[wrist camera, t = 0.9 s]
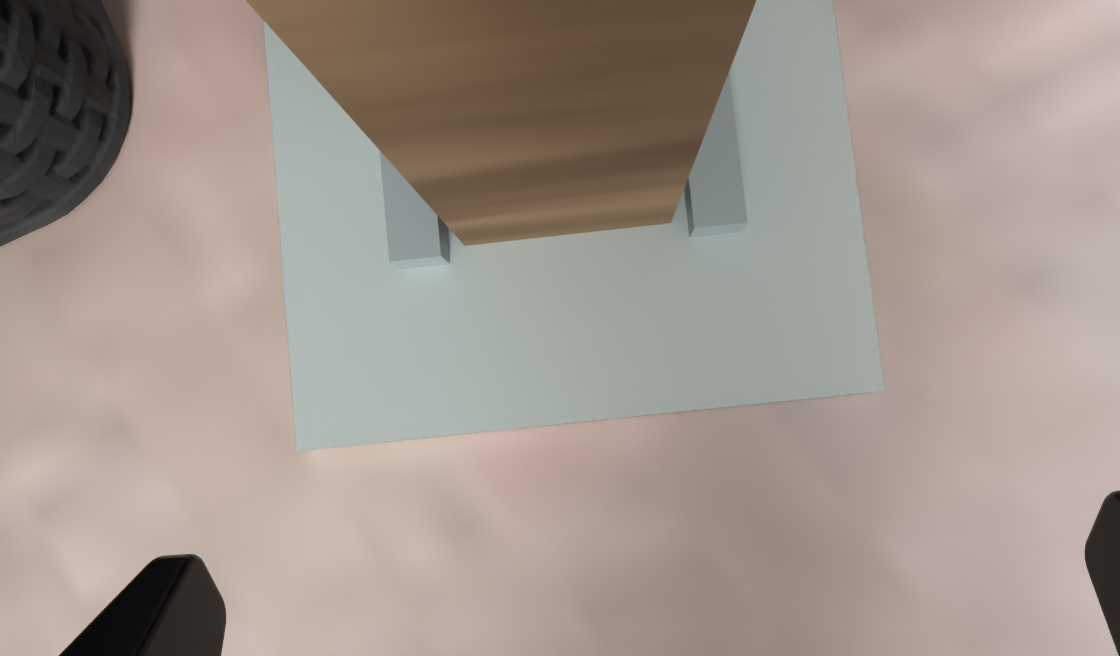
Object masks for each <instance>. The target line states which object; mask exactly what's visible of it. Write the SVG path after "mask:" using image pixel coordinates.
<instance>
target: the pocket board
mask: <svg viewBox="0 0 1120 656" xmlns="http://www.w3.org/2000/svg"><path fill="white" fill-rule="evenodd" d="M263 22H264V35H265V48H266V61H267V74H268V87H269V100H270V113H271V126H272V139H273V152H274V165H275V178H276V191H277V204H278V217H279V230H280V243H281V256H282V269H283V282H284V295H285V308H286V321H287V334H288V347H289V360H290V373H291V386H292V399H293V412H294V425H295V438H296V451H301V450H311V449H321V448H330V447H340V446H350V445H360V444H370V443H379V442H389V441H399V440H409V439H418V438H428V437H438V436H448V435H458V434H467V433H477V432H487V431H497V430H506V429H516V428H526V427H536V426H546V425H555V424H565V423H575V422H585V421H594V420H604V419H614V418H624V417H634V416H643V415H653V414H663V413H673V412H682V411H692V410H702V409H712V408H722V407H731V406H741V405H751V404H761V403H770V402H780V401H790V400H800V399H810V398H819V397H829V396H839V395H849V394H858V393H868V392H878V391H885V389H884V382H883V374H882V367H881V359H880V352H879V344H878V337H877V329H876V322H875V314H874V307H873V299H872V292H871V284H870V277H869V269H868V262H867V254H866V247H865V239H864V232H863V224H862V217H861V209H860V202H859V194H858V187H857V179H856V172H855V164H854V157H853V149H852V142H851V134H850V127H849V120H848V112H847V105H846V97H845V90H844V82H843V75H842V67H841V60H840V52H839V45H838V37H837V30H836V22H835V15H834V7H833V0H756V3H755V6H754V8H753V11H752V13H751V16H750V19H749V21H748V24H747V26H746V29H745V32H744V34H743V37H742V39H741V42H740V45H739V47H738V50H737V52H736V55H735V58H734V60H733V63H732V65H731V68H730V71H729V73H728V76H727V78H726V81H725V84H724V86H723V89H722V92H721V94H720V97H719V99H718V102H717V105H716V107H715V110H714V112H713V115H712V118H711V120H710V123H709V125H708V128H707V131H706V133H705V136H704V138H703V141H702V144H701V146H700V149H699V151H698V154H697V157H696V159H695V162H694V164H693V167H692V170H691V172H690V175H689V177H688V180H687V183H686V185H685V188H684V190H683V193H682V196H681V198H680V201H679V203H678V206H677V209H676V211H675V214H674V216H673V219H672V222H671V223H668V224H659V225H650V226H641V227H632V228H623V229H614V230H605V231H596V232H587V233H578V234H568V235H559V236H550V237H541V238H532V239H523V240H514V241H505V242H496V243H487V244H478V245H469V246H464V245H463V243H462V242H461V241H460V240H459V239H458V238H457V237H456V236H455V234H454V233H453V232H452V231H451V230H450V229H449V228H448V227H447V225H446V224H445V223H444V222H443V221H442V220H441V219H440V218H439V216H438V215H437V214H436V213H435V212H434V211H433V210H432V209H431V207H430V206H429V205H428V204H427V203H426V202H425V201H424V200H423V199H422V197H421V196H420V195H419V194H418V193H417V192H416V191H415V190H414V188H413V187H412V186H411V185H410V184H409V183H408V182H407V181H406V179H405V178H404V177H403V176H402V175H401V174H400V173H399V172H398V170H397V169H396V168H395V167H394V166H393V165H392V164H391V163H390V161H389V160H388V159H387V158H386V157H385V156H384V155H383V154H382V152H381V151H380V150H379V149H378V148H377V147H376V146H375V145H374V143H373V142H372V141H371V140H370V139H369V138H368V137H367V136H366V134H365V133H364V132H363V131H362V130H361V129H360V128H359V127H358V125H357V124H356V123H355V122H354V121H353V120H352V119H351V118H350V116H349V115H348V114H347V113H346V112H345V111H344V110H343V109H342V107H341V106H340V105H339V104H338V103H337V102H336V101H335V100H334V98H333V97H332V96H331V95H330V94H329V93H328V92H327V91H326V89H325V88H324V87H323V86H322V85H321V84H320V83H319V82H318V80H317V79H316V78H315V77H314V76H313V75H312V74H311V73H310V71H309V70H308V69H307V68H306V67H305V66H304V65H303V64H302V62H301V61H300V60H299V59H298V58H297V57H296V56H295V55H294V53H293V52H292V51H291V50H290V49H289V48H288V47H287V46H286V45H285V43H284V42H283V41H282V40H281V39H280V38H279V37H278V36H277V34H276V33H275V32H274V31H273V30H272V29H271V28H270V27H269V25H268V24H267V23H266V22H265V21H264V20H263Z"/></svg>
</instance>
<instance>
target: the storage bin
mask: <svg viewBox="0 0 1120 656" xmlns="http://www.w3.org/2000/svg"><path fill="white" fill-rule="evenodd" d="M107 76H108V81H107ZM106 81H107V85H106ZM129 105H130V85H129V78H128V71H127V65H126V62H125V59H124V56H123V54H122V51H121V48H120V46H119V43H118V41H117V39H116V36H115V34H114V32H113V29H112V27H111V25H110V22H109V20H108V18H107V15H106V13H105V10H104V8H103V6H102V3H101V1H100V0H0V246H2V245H4V244H6V243H9V242H11V241H13V240H15V239H17V238H19V237H21V236H24V235H26V234H28V233H30V232H32V231H35V230H37V229H39V228H42V227H44V226H46V225H48V224H50V223H52V222H54V221H56V220H57V219H59V218H61V217H63V216H65V215H66V214H68V213H69V212H71V211H72V210H73V209H74V208H75V207H77V206H78V205H79V204H80V203H81V202H83V201H84V200H85V199H86V198H87V197H88V196H89V195H90V194H91V193H92V192H93V191H94V189H95V188H96V187H97V186H98V185H99V184H100V183H101V182H102V181H103V179H104V178H105V176H106V175H107V173H108V172H109V170H110V168H111V167H112V165H113V164H114V162H115V159H116V157H117V154H118V152H119V149H120V147H121V144H122V142H123V139H124V137H125V133H126V129H127V125H128V121H129Z"/></svg>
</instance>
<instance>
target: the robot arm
mask: <svg viewBox="0 0 1120 656" xmlns="http://www.w3.org/2000/svg"><path fill="white" fill-rule="evenodd" d="M1085 561H1086V566H1087V569H1088V572H1089V575H1090V578H1091V581H1092V583H1093V586H1094V589H1095V592H1096V594H1097V597H1098V600H1099V603H1100V606H1101V608H1102V611H1103V614H1104V617H1105V619H1106V622H1107V625H1108V628H1109V630H1110V633H1111V636H1112V639H1113V641H1114V644H1115V647H1116V650H1117V653H1118V655H1119V656H1120V491H1114V492H1112V493H1110V494H1109V495H1108V496H1107V497H1106V498H1105V500H1104V502H1103V504H1102V506H1101V509H1100V511H1099V513H1098V516H1097V518H1096V520H1095V523H1094V525H1093V527H1092V530H1091V532H1090V534H1089V537H1088V539H1087V542H1086V545H1085ZM225 627H226V608H225V604H224V601H223V598H222V596H221V594H220V592H219V591H218V589H217V587H216V585H215V583H214V581H213V579H212V577H211V575H210V573H209V571H208V570H207V568H206V566H205V564H204V562H203V561H202V559H201V558H200V557H198V556H197V555H195V554H182V555H167V556H161V557H158V558H155V559H154V560H152V561H151V562H150V563H149V564H147V565H146V566H145V567H144V568H143V569H142V571H141V572H140V573H139V574H138V575H137V576H136V577H135V578H134V579H133V580H132V581H131V582H130V583H129V584H128V585H127V586H126V587H125V588H124V589H123V590H122V591H121V592H120V593H119V594H118V595H117V596H116V597H115V598H114V599H113V600H112V601H111V602H110V603H109V604H108V606H107V607H106V608H105V609H104V610H103V611H102V612H101V613H100V614H99V615H98V616H97V617H96V618H95V619H94V620H93V621H92V622H91V623H90V624H89V625H88V626H87V627H86V628H85V629H84V630H83V631H82V632H81V633H80V634H79V635H78V636H77V637H76V638H75V639H74V640H73V642H72V643H71V644H70V645H69V646H68V647H67V648H66V649H65V650H64V651H63V652H62V653H61V654H60V655H59V656H221V653H222V646H223V640H224V633H225Z"/></svg>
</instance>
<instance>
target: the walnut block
mask: <svg viewBox="0 0 1120 656" xmlns="http://www.w3.org/2000/svg"><path fill="white" fill-rule="evenodd" d="M246 1H247V2H248V3H249V4H250V5H251V6H252V7H253V9H254V10H255V11H256V12H257V13H258V14H259V15H260V16H261V18H262V19H263V20H264V21H265V22H266V23H267V24H268V25H269V27H270V28H271V29H272V30H273V31H274V32H275V33H276V34H277V36H278V37H279V38H280V39H281V40H282V41H283V42H284V43H285V45H286V46H287V47H288V48H289V49H290V50H291V51H292V52H293V53H294V55H295V56H296V57H297V58H298V59H299V60H300V61H301V62H302V64H303V65H304V66H305V67H306V68H307V69H308V70H309V71H310V73H311V74H312V75H313V76H314V77H315V78H316V79H317V80H318V82H319V83H320V84H321V85H322V86H323V87H324V88H325V89H326V91H327V92H328V93H329V94H330V95H331V96H332V97H333V98H334V100H335V101H336V102H337V103H338V104H339V105H340V106H341V107H342V109H343V110H344V111H345V112H346V113H347V114H348V115H349V116H350V118H351V119H352V120H353V121H354V122H355V123H356V124H357V125H358V127H359V128H360V129H361V130H362V131H363V132H364V133H365V134H366V136H367V137H368V138H369V139H370V140H371V141H372V142H373V143H374V145H375V146H376V147H377V148H378V149H379V150H380V151H381V152H382V154H383V155H384V156H385V157H386V158H387V159H388V160H389V161H390V163H391V164H392V165H393V166H394V167H395V168H396V169H397V170H398V172H399V173H400V174H401V175H402V176H403V177H404V178H405V179H406V181H407V182H408V183H409V184H410V185H411V186H412V187H413V188H414V190H415V191H416V192H417V193H418V194H419V195H420V196H421V197H422V199H423V200H424V201H425V202H426V203H427V204H428V205H429V206H430V207H431V209H432V210H433V211H434V212H435V213H436V214H437V215H438V216H439V218H440V219H441V220H442V221H443V222H444V223H445V224H446V225H447V227H448V228H449V229H450V230H451V231H452V232H453V233H454V234H455V236H456V237H457V238H458V239H459V240H460V241H461V242H462V243H463V245H464V246H469V245H478V244H487V243H496V242H505V241H514V240H523V239H532V238H541V237H550V236H559V235H568V234H578V233H587V232H596V231H605V230H614V229H623V228H632V227H641V226H650V225H659V224H668V223H671V222H672V219H673V216H674V214H675V211H676V209H677V206H678V203H679V201H680V198H681V196H682V193H683V190H684V188H685V185H686V183H687V180H688V177H689V175H690V172H691V170H692V167H693V164H694V162H695V159H696V157H697V154H698V151H699V149H700V146H701V144H702V141H703V138H704V136H705V133H706V131H707V128H708V125H709V123H710V120H711V118H712V115H713V112H714V110H715V107H716V105H717V102H718V99H719V97H720V94H721V92H722V89H723V86H724V84H725V81H726V78H727V76H728V73H729V71H730V68H731V65H732V63H733V60H734V58H735V55H736V52H737V50H738V47H739V45H740V42H741V39H742V37H743V34H744V32H745V29H746V26H747V24H748V21H749V19H750V16H751V13H752V11H753V8H754V6H755V3H756V0H246Z"/></svg>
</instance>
